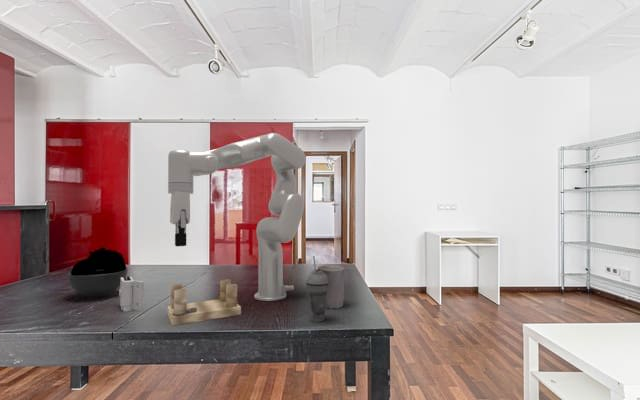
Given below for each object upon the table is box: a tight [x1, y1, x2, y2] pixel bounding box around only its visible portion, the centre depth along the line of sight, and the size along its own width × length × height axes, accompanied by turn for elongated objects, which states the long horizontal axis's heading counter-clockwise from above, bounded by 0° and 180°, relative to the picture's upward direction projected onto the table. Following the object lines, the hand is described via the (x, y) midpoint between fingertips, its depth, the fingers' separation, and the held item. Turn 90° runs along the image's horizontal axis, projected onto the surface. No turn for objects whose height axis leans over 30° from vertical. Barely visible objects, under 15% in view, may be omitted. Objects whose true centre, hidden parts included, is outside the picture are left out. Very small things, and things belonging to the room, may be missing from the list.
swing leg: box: [174, 288, 197, 315], centre depth 103 cm, size 7×4×7 cm, turn 125°
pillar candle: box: [317, 263, 345, 310], centre depth 120 cm, size 10×10×15 cm
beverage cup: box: [305, 255, 329, 323], centre depth 105 cm, size 7×7×20 cm
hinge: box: [118, 275, 145, 313], centre depth 116 cm, size 14×5×10 cm, turn 47°
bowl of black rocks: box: [66, 246, 128, 298], centre depth 132 cm, size 20×20×19 cm
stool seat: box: [167, 278, 242, 326], centre depth 110 cm, size 21×13×10 cm, turn 120°
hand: (180, 245), depth 106 cm, fingers closed
